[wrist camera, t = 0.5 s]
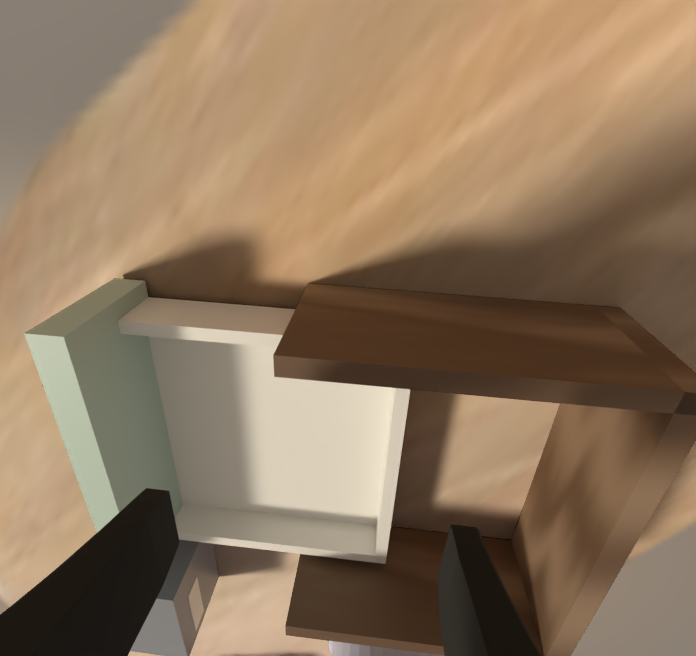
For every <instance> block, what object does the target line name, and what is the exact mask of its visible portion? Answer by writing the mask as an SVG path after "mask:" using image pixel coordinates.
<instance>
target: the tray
mask: <svg viewBox="0 0 696 656" xmlns="http://www.w3.org/2000/svg"><path fill="white" fill-rule="evenodd" d="M294 311H295V309H286V308H274V307H262V306H250V305H237V304H225V303H213V302H201V301H189V300H176V299H164V298H152V297H148V293H147V288H146V282H145V281H142V280H130V279H117V278H115V279H113V280H111V281H110V282H108V283H106V284H105V285H103V286H101V287H100V288H98V289H97V290H95V291H93V292H92V293H90V294H88V295H87V296H85V297H83V298H82V299H80V300H78V301H77V302H75V303H73V304H72V305H70V306H68V307H67V308H65V309H64V310H62V311H60V312H59V313H57V314H55V315H54V316H52V317H50V318H49V319H47V320H45V321H44V322H42V323H40V324H39V325H37V326H35V327H34V328H32V329H31V330H29V331H27V332H26V333H24V335H25V337H26V340H27V343H28V346H29V348H30V351H31V354H32V356H33V359H34V362H35V365H36V367H37V370H38V373H39V376H40V378H41V381H42V384H43V387H44V389H45V392H46V395H47V398H48V400H49V403H50V406H51V409H52V411H53V414H54V417H55V420H56V422H57V425H58V428H59V431H60V433H61V436H62V439H63V441H64V444H65V447H66V450H67V452H68V455H69V458H70V461H71V463H72V466H73V469H74V472H75V474H76V477H77V480H78V483H79V485H80V488H81V491H82V494H83V496H84V499H85V502H86V505H87V507H88V510H89V513H90V515H91V518H92V521H93V524H94V526H95V529H96V532H99V531H100V530H101V529H102V528H103V527H104V526H105V525H106V524H107V523H108V522H110V521H111V520H112V519H113V518H114V517H115V516H116V515H117V514H118V513H119V512H120V511H121V510H123V509H124V508H125V507H126V506H127V505H128V504H129V503H130V502H131V501H132V500H133V499H134V498H136V497H137V496H138V495H139V494H140V493H141V492H142V491H143V490H145V489H146V488H150V489H159V490H167V491H169V492H170V497H171V502H172V507H173V512H174V517H175V522H176V527H177V532H178V537H179V540H187V541H196V542H204V543H213V544H221V545H229V546H238V547H246V548H255V549H263V550H272V551H280V552H289V553H297V554H305V555H314V556H322V557H331V558H339V559H348V560H356V561H365V562H373V563H381V564H386V557H387V550H388V543H389V536H390V529H391V522H392V515H393V508H394V501H395V494H396V487H397V480H398V473H399V466H400V459H401V452H402V445H403V438H404V431H405V424H406V417H407V410H408V403H409V396H410V389H400V388H390V387H379V386H368V385H357V384H346V383H336V382H325V381H314V380H303V379H292V378H281V377H274V361H273V355H274V353H275V351H276V349H277V346H278V344H279V342H280V340H281V338H282V336H283V334H284V332H285V330H286V328H287V326H288V324H289V322H290V320H291V318H292V315H293V313H294Z"/></svg>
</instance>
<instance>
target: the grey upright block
mask: <svg viewBox="0 0 696 656" xmlns="http://www.w3.org/2000/svg"><path fill="white" fill-rule="evenodd" d="M179 542H180V543H179V545H178V548H177V551H176V553H175V556H174V559H173V562H172V564H171V567H170V569H169V572H168V574H167V577H166V579H165V582H164V584H163V587H162V589H161V591H160V593H159V595H158V597H157V599H156V601H155V603H154V605H153V607H152V609H151V611H150V613H149V615H148V616H147V618H146V620H145V622H144V624H143V626H142V628H141V630H140V632H139V634H138V636H137V638H136V640H135V642H134V644H133V646H132V648H131V650H130V651H135V652H142V653H149V654H156V655H163V656H189V655H190V653H191V650H192V647H193V645H194V642H195V639H196V637H197V634H198V631H199V628H200V626H201V623H202V620H203V618H204V615H205V612H206V610H207V607H208V604H209V602H210V599H211V596H212V594H213V591H214V588H215V586H216V583H217V580H218V577H219V575H218V569H217V563H216V557H215V551H214V545H213V543H204V542H196V541H187V540H179Z"/></svg>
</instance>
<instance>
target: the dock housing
mask: <svg viewBox="0 0 696 656" xmlns="http://www.w3.org/2000/svg"><path fill="white" fill-rule="evenodd" d="M273 361H274V377H281V378H292V379H303V380H314V381H325V382H336V383H346V384H357V385H368V386H379V387H390V388H400V389H411V390H422V391H433V392H444V393H454V394H465V395H476V396H487V397H498V398H509V399H519V400H530V401H541V402H552V403H560V406H559V409H558V412H557V414H556V417H555V420H554V423H553V426H552V428H551V431H550V434H549V437H548V440H547V442H546V445H545V448H544V451H543V453H542V456H541V459H540V462H539V465H538V467H537V470H536V473H535V476H534V479H533V481H532V484H531V487H530V490H529V493H528V495H527V498H526V501H525V504H524V507H523V509H522V512H521V515H520V518H519V521H518V523H517V526H516V529H515V532H514V535H513V537H512V540H503V539H494V538H485V537H482V539H483V542H484V544H485V546H486V548H487V551H488V553H489V555H490V557H491V560H492V562H493V564H494V566H495V568H496V570H497V572H498V574H499V576H500V578H501V580H502V582H503V584H504V586H505V589H506V591H507V592H508V594H509V596H510V598H511V600H512V602H513V604H514V606H515V608H516V610H517V612H518V614H519V615H520V617H521V619H522V621H523V623H524V625H525V627H526V628H527V630H528V632H529V634H530V636H531V638H532V639H533V641H534V643H535V645H536V646H537V648H538V650H539V652H540V654H541V655H542V656H571V654H572V653H573V651H574V649H575V648H576V646H577V644H578V642H579V641H580V639H581V637H582V635H583V634H584V632H585V630H586V629H587V627H588V625H589V623H590V622H591V620H592V618H593V616H594V615H595V613H596V611H597V610H598V608H599V606H600V604H601V602H602V601H603V599H604V597H605V596H606V594H607V592H608V591H609V589H610V587H611V585H612V583H613V582H614V580H615V578H616V577H617V575H618V573H619V572H620V570H621V568H622V566H623V565H624V563H625V561H626V559H627V558H628V556H629V554H630V553H631V551H632V549H633V547H634V546H635V544H636V542H637V540H638V539H639V537H640V535H641V534H642V532H643V530H644V528H645V527H646V525H647V523H648V521H649V520H650V518H651V516H652V515H653V513H654V511H655V509H656V508H657V506H658V504H659V502H660V501H661V499H662V497H663V496H664V494H665V492H666V490H667V489H668V487H669V485H670V483H671V482H672V480H673V478H674V477H675V475H676V473H677V471H678V470H679V468H680V466H681V464H682V463H683V461H684V459H685V458H686V456H687V454H688V452H689V451H690V449H691V447H692V445H693V444H694V442H695V440H696V373H695V372H694V371H693V370H692V369H691V368H689V367H688V366H687V365H686V364H685V363H684V362H682V361H681V360H680V359H679V358H678V357H677V356H676V355H674V354H673V353H672V352H671V351H670V350H669V349H667V348H666V347H665V346H664V345H663V344H662V343H660V342H659V341H658V340H657V339H656V338H655V337H654V336H652V335H651V334H650V333H649V332H648V331H647V330H645V329H644V328H643V327H642V326H641V325H640V324H638V323H637V322H636V321H635V320H634V319H633V318H632V317H630V316H629V315H628V314H627V313H626V312H625V311H623V310H622V309H621V308H617V307H605V306H592V305H579V304H566V303H553V302H541V301H528V300H515V299H502V298H489V297H477V296H464V295H451V294H438V293H425V292H413V291H400V290H387V289H374V288H361V287H349V286H336V285H323V284H310V283H308V284H307V287H306V289H305V291H304V293H303V295H302V297H301V299H300V301H299V303H298V305H297V307H296V309H295V311H294V313H293V315H292V318H291V320H290V322H289V324H288V326H287V328H286V330H285V332H284V334H283V336H282V338H281V340H280V342H279V344H278V346H277V349H276V351H275V353H274V355H273ZM447 537H448V533H441V532H432V531H423V530H414V529H406V528H397V527H391V529H390V536H389V543H388V550H387V557H386V564H381V563H373V562H365V561H356V560H348V559H339V558H331V557H322V556H314V555H305V554H300V558H299V563H298V568H297V573H296V578H295V583H294V587H293V592H292V597H291V602H290V607H289V612H288V617H287V621H286V635H290V636H297V637H305V638H312V639H320V640H328V641H335V642H343V643H351V644H358V645H366V646H374V647H381V648H389V649H397V650H404V651H412V652H419V653H427V654H435V655H442V656H445V655H444V648H443V641H442V634H441V626H440V614H439V594H438V572H439V568H440V564H441V560H442V556H443V552H444V549H445V545H446V541H447Z"/></svg>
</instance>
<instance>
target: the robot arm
mask: <svg viewBox="0 0 696 656" xmlns="http://www.w3.org/2000/svg"><path fill="white" fill-rule="evenodd" d="M179 543H180V542H179V537H178V532H177V527H176V522H175V517H174V512H173V507H172V502H171V497H170V492H169V491H167V490H159V489H150V488H146V489H145V490H143V491H142V492H141V493H140V494H139V495H138V496H137V497H136V498H134V499H133V500H132V501H131V502H130V503H129V504H128V505H127V506H126V507H125V508H124V509H123V510H121V511H120V512H119V513H118V514H117V515H116V516H115V517H114V518H113V519H112V520H111V521H110V522H108V523H107V524H106V525H105V526H104V527H103V528H102V529H101V530H100V531H99V532H97V533H96V534H95V535H94V536H93V537H92V538H91V539H90V540H89V541H87V542H86V543H85V544H84V545H83V546H82V547H81V548H80V549H78V550H77V551H76V552H75V553H74V554H73V555H72V556H70V557H69V558H68V559H67V560H66V561H65V562H64V563H63V564H61V565H60V566H59V567H58V568H57V569H56V570H54V571H53V572H52V573H51V574H50V575H48V576H47V577H46V578H45V579H44V580H42V581H41V582H40V583H39V584H37V585H36V586H35V587H34V588H33V589H31V590H30V591H29V592H28V593H27V594H25V595H24V596H23V597H22V598H21V599H19V600H18V601H17V602H16V603H14V604H13V605H12V606H11V607H9V608H8V609H7V610H6V611H4V612H3V613H2V614H1V615H0V656H128V654H129V652H130V650H131V648H132V646H133V644H134V642H135V640H136V638H137V636H138V634H139V632H140V630H141V628H142V626H143V624H144V622H145V620H146V618H147V616H148V615H149V613H150V611H151V609H152V607H153V605H154V603H155V601H156V599H157V597H158V595H159V593H160V591H161V589H162V587H163V584H164V582H165V579H166V577H167V574H168V572H169V569H170V567H171V564H172V562H173V559H174V556H175V553H176V551H177V548H178V545H179ZM438 594H439V614H440V626H441V634H442V641H443V648H444V655H445V656H542V655H541V654H540V652H539V650H538V648H537V646H536V645H535V643H534V641H533V639H532V638H531V636H530V634H529V632H528V630H527V628H526V627H525V625H524V623H523V621H522V619H521V617H520V615H519V614H518V612H517V610H516V608H515V606H514V604H513V602H512V600H511V598H510V596H509V594H508V592H507V591H506V589H505V586H504V584H503V582H502V580H501V578H500V576H499V574H498V572H497V570H496V568H495V566H494V564H493V562H492V560H491V557H490V555H489V553H488V551H487V548H486V546H485V544H484V542H483V539H482V537H481V535H480V532H479V531H478V529H477V528H476V527H468V526H459V525H450V529H449V533H448V537H447V541H446V545H445V549H444V552H443V556H442V560H441V564H440V568H439V572H438ZM329 651H330V653H332V656H442V655H435V654H427V653H419V652H412V651H404V650H397V649H389V648H381V647H374V646H366V645H358V644H351V643H343V642H335V641H329Z"/></svg>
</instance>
